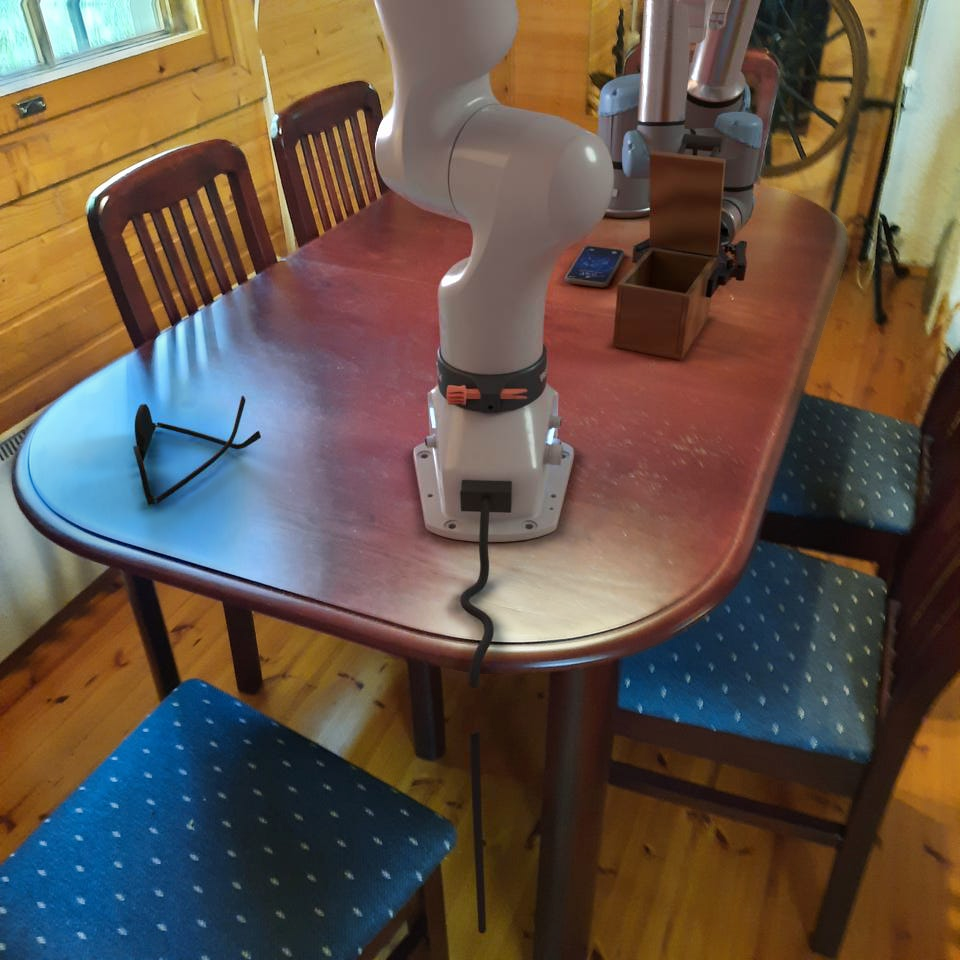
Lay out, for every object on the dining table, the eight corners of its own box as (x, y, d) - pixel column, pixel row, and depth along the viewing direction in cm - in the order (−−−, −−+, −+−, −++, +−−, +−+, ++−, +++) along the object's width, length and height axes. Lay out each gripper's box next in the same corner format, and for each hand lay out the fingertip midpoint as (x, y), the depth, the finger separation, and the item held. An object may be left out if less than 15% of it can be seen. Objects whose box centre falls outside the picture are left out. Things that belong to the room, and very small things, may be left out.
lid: (723, 162, 111) (742, 125, 115) (649, 154, 115) (669, 118, 119) (716, 256, 123) (733, 218, 127) (649, 245, 126) (668, 209, 131)
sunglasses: (270, 486, 97) (262, 449, 94) (137, 510, 94) (125, 474, 91) (257, 411, 110) (250, 377, 107) (140, 430, 107) (130, 396, 104)
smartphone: (626, 249, 148) (607, 284, 137) (625, 255, 149) (607, 289, 137) (584, 244, 150) (562, 278, 139) (584, 249, 151) (562, 283, 139)
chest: (681, 360, 118) (689, 296, 113) (612, 346, 122) (617, 284, 116) (708, 318, 129) (717, 257, 123) (644, 306, 132) (650, 247, 127)
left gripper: (718, -104, 107) (703, 20, 115) (670, -94, 92) (657, 48, 100) (769, -105, 104) (751, 23, 112) (729, -94, 90) (710, 51, 98)
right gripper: (778, 263, 138) (747, 320, 122) (643, 242, 146) (597, 293, 130) (787, 217, 133) (756, 270, 117) (647, 199, 142) (600, 245, 126)
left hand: (706, 35), depth 106 cm, fingers open, 8 cm apart
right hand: (672, 282), depth 124 cm, fingers closed on chest, 10 cm apart
